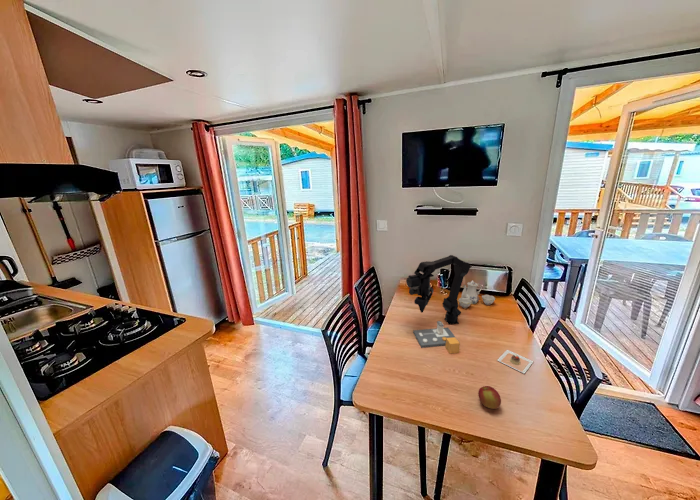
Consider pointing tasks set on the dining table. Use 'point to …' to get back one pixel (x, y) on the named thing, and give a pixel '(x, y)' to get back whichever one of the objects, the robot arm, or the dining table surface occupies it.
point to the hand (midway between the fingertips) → (423, 308)
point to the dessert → (515, 360)
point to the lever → (439, 327)
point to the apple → (489, 397)
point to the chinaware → (473, 296)
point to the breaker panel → (432, 337)
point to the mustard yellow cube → (452, 345)
